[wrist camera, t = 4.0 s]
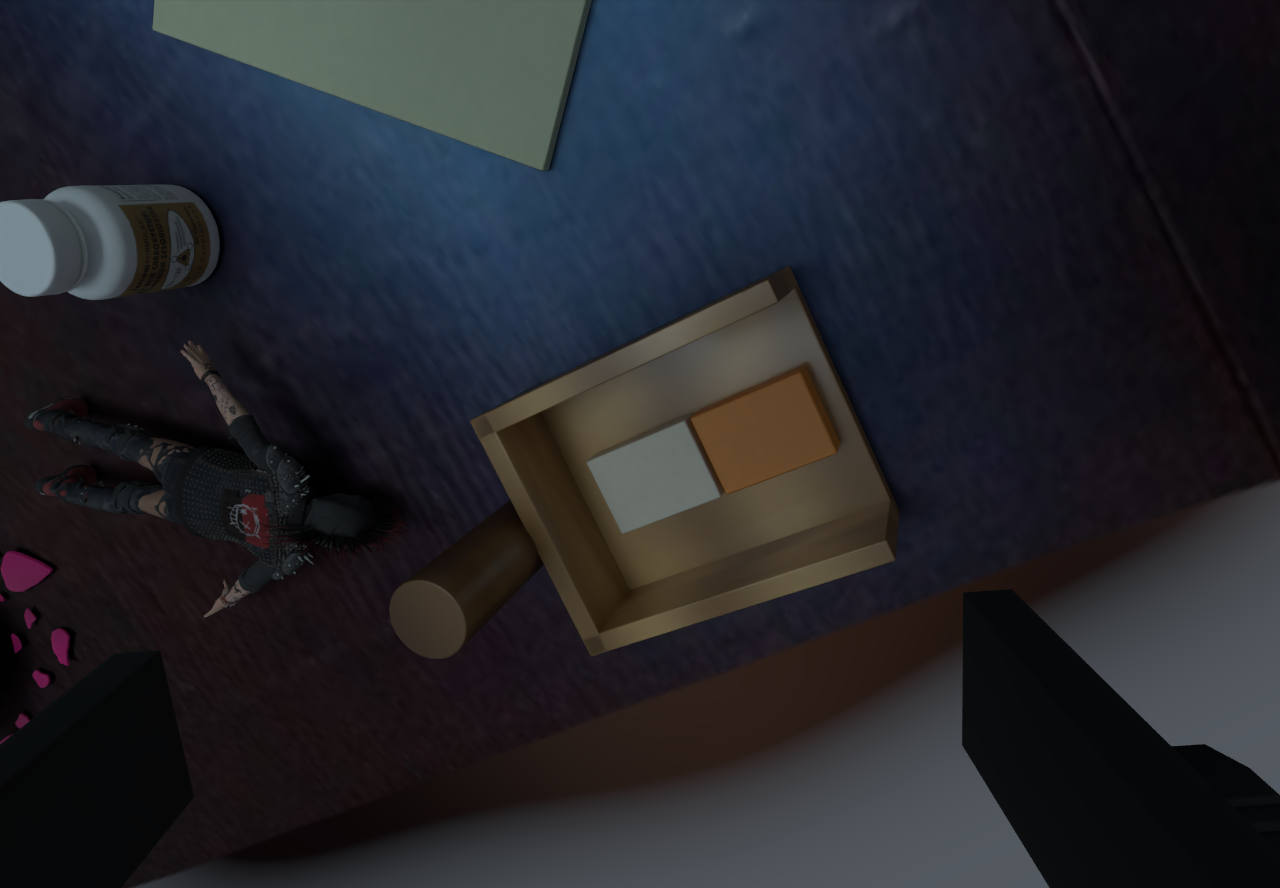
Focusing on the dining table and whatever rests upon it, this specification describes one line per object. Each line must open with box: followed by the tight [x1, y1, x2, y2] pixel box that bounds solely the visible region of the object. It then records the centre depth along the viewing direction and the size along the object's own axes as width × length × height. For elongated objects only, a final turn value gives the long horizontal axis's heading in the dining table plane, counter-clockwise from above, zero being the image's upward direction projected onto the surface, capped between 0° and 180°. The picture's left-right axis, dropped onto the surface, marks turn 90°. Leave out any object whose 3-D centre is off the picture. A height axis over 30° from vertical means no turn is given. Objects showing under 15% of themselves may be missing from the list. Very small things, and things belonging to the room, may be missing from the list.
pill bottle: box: [0, 185, 220, 300], centre depth 35 cm, size 4×4×8 cm
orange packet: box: [691, 366, 840, 494], centre depth 31 cm, size 4×3×1 cm
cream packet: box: [587, 413, 724, 534], centre depth 33 cm, size 4×3×1 cm
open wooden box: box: [389, 266, 900, 659], centre depth 30 cm, size 15×10×10 cm
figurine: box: [25, 341, 408, 617], centre depth 39 cm, size 13×6×20 cm
